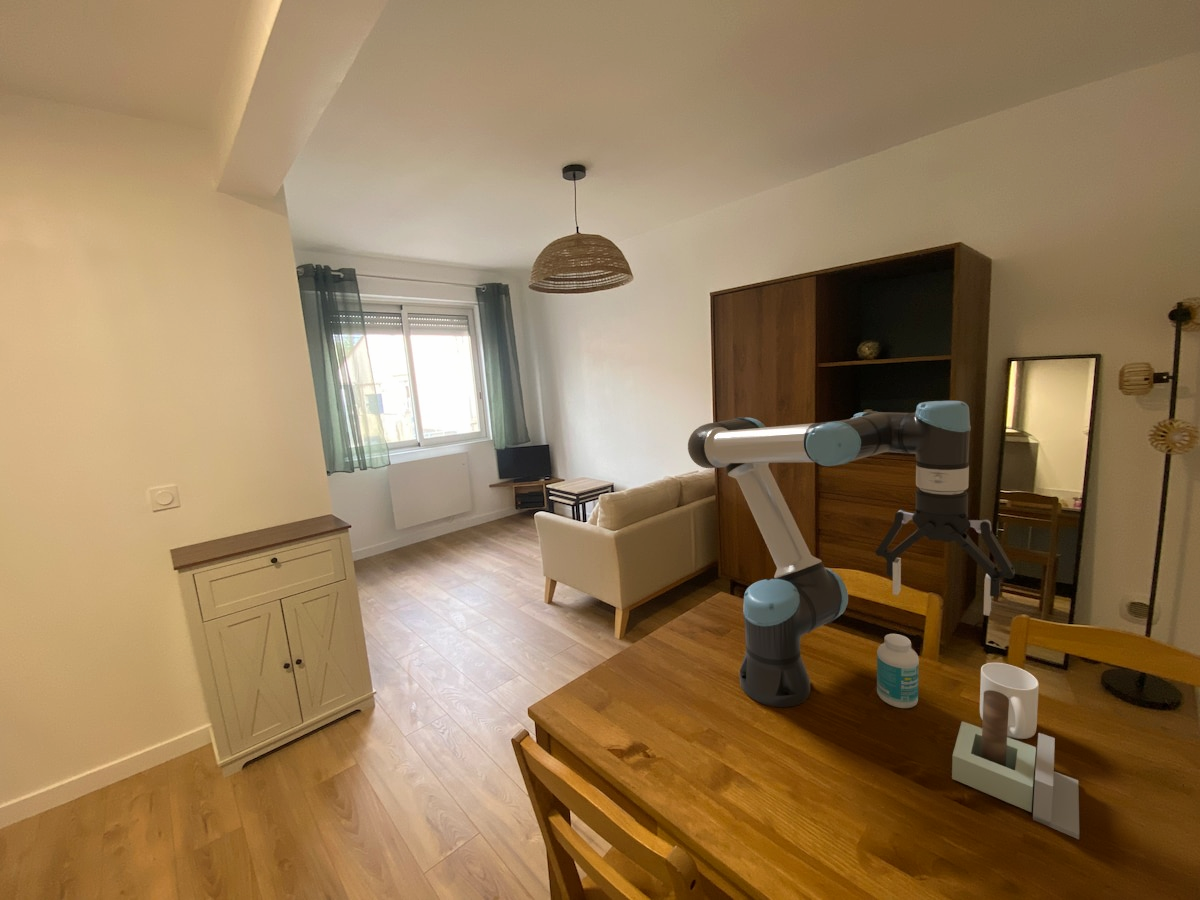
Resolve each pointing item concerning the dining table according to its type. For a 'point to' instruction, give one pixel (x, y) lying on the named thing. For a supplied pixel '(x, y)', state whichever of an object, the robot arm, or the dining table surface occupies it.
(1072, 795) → the grey l-shaped piece
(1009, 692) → the mug
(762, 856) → the dining table surface
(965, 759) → the block
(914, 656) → the pill bottle
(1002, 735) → the dowel
